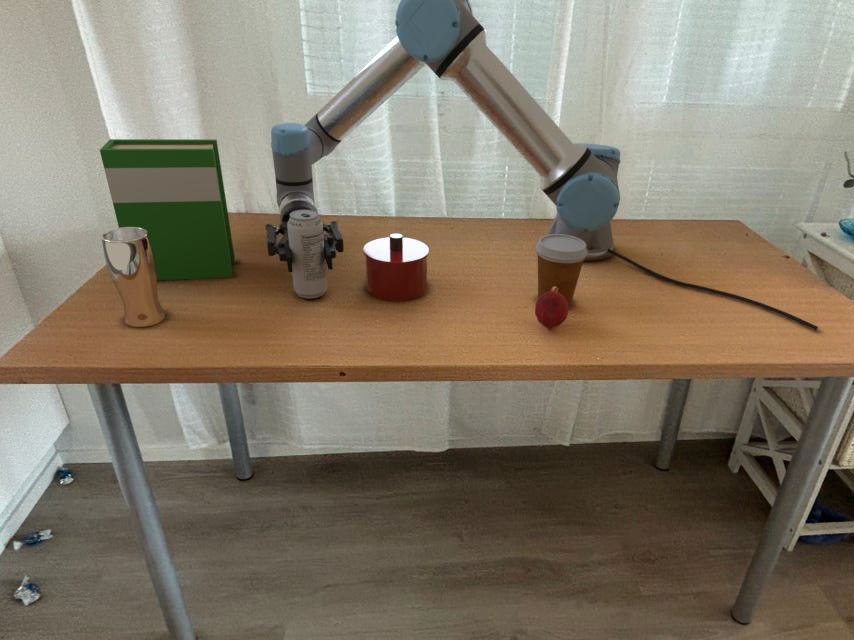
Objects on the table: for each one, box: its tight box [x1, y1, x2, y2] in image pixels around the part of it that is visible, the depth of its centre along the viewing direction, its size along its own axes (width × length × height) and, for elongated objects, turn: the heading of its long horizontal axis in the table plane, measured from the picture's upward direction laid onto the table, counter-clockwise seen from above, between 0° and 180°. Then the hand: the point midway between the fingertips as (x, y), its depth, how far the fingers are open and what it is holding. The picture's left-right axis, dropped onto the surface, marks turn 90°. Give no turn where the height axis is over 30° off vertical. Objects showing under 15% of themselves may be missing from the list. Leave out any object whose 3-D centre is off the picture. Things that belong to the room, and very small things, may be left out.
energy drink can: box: [287, 210, 328, 299], centre depth 115 cm, size 6×6×15 cm
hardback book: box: [99, 138, 236, 281], centre depth 118 cm, size 18×7×24 cm, turn 104°
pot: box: [364, 255, 428, 302], centre depth 122 cm, size 11×11×7 cm
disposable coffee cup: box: [535, 234, 588, 308], centre depth 119 cm, size 10×10×12 cm
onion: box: [534, 286, 570, 330], centre depth 111 cm, size 6×6×8 cm
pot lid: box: [362, 233, 430, 265], centre depth 119 cm, size 12×12×4 cm
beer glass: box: [100, 227, 166, 328], centre depth 104 cm, size 7×7×15 cm
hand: (310, 263), depth 111 cm, fingers closed on energy drink can, 6 cm apart
